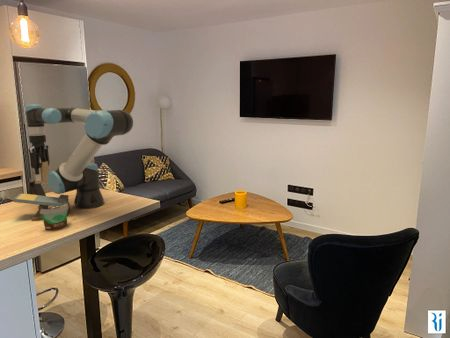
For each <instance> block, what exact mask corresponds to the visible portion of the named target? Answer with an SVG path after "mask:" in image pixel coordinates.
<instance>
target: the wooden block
mask: <svg viewBox="0 0 450 338" xmlns="http://www.w3.org/2000/svg"><path fill="white" fill-rule="evenodd" d="M39 168H41V175H42V181H36V175H35V169H34V168H32V169H33V176H34V181H35V184H41V185H42V184H43V185H44V184H48V181H47V176H48V173H49V172H50V171H49V170H50V169H49V166H48V161H41V160H40V164H39Z"/></svg>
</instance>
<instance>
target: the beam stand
mask: <svg viewBox="0 0 450 338" xmlns="http://www.w3.org/2000/svg"><path fill="white" fill-rule="evenodd" d="M67 204H68V207H69V208H68V209H67V217H69V214H70V212H71V209H70V202H68V203H67ZM48 208H49V206H48V205H38V210H37V211H36V212H35V214H34V215H33V216H32V218H31V222H36V221H38V222H39V221H43V217H42V214H40V210H41V209H48Z"/></svg>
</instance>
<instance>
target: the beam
mask: <svg viewBox="0 0 450 338" xmlns="http://www.w3.org/2000/svg"><path fill="white" fill-rule="evenodd" d="M69 201H70V200H69V194H59V196H58V197H56V196H49V195H46V196H40V195H31V194H28V193H19V194H18V195H17V196H15V198H14V199H13V202H14V203H18V204H19V203H21V204H30V205H38V206H39V205H48V207H53V206H60V205H63V204H65V202H66V203H69Z"/></svg>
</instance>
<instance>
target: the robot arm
mask: <svg viewBox="0 0 450 338" xmlns="http://www.w3.org/2000/svg"><path fill="white" fill-rule="evenodd" d="M25 116H26V117H25V118H26V124H27V130H28V131H27V133H28V135H29V136H28V140H29V143H30V144H31V148H28V153H29V161H30V167H31V168H32V169H33V168H34V169H35V175H36V181H42V175H41V168H39V164H40V161H48V167H49V166H50V164H51V163H50V156H49V155H50V154H49V145H46V144H45V143H46V142H47V138H46V135H45V134H46V127H45V125H46V124H49V125H56V124H63V123H72V124H82V125H84V133H85V134H84V136H83V138H82V139H81V140H80V142H79V143H78V145H77V146H76V148H75V149H74V151H72V154H71V155H70V156H69V157H68V159H67V161H64V162H62V163H60V164H59V166H58V168H56V170H51V171H49V173H48V176H47V181H48V182H47V185H48V187H49V188H50V190H51V191H52V193H54V194H56V195H62V194H66V193H68V192H72V191H76V193H75V197H74V201H73V206H74V208H75V209H84V210H85V209H87V210H88V209H94V208H98V207H101V206H103V205H105V199H104V197H103V194H102V192H101V189H100V177H99V174H100V173H99V167H98V164H97V163H94V162H93V163H92V162H91V161H92V160H93V158H94V157H95V155H97V153H98V152H99V150H100V149H101V148H102V146H105V145H108V144H109V143H110V142H111V140H113V138H114V137H116V136H117V137H119V136H124V135H126V134H128V133H129V132H131V131H132V129H133V127H134V119H133V116H132V114H130V113H129V112H128V111H126V110H123V109H114V110H113V109H110V110H109V109H108V110H104V109H99V110H93V109H84V108H83V109H82V108H78V107H48V108H47V107H46V108H43V105H42V104H37V103H36V104H35V103H34V104H26V105H25ZM34 169H33V170H34Z"/></svg>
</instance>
